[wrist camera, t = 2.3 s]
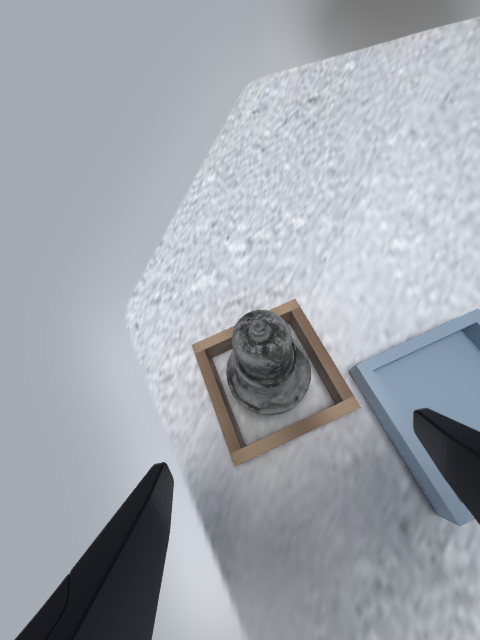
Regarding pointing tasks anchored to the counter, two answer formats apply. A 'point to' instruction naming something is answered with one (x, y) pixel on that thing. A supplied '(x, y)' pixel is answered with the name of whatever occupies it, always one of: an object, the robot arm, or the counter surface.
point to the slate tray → (427, 397)
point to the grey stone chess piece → (267, 364)
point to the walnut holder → (343, 406)
